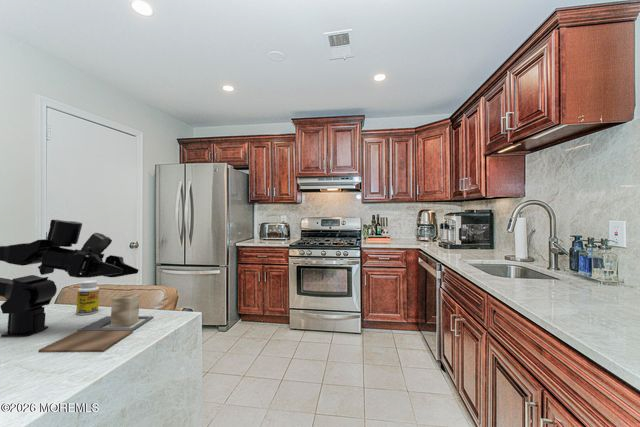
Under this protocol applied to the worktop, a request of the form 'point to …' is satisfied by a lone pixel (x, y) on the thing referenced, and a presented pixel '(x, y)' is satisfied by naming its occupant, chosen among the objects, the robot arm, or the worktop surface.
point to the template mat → (107, 320)
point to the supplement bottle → (87, 298)
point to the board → (87, 341)
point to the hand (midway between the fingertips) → (130, 271)
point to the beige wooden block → (125, 310)
